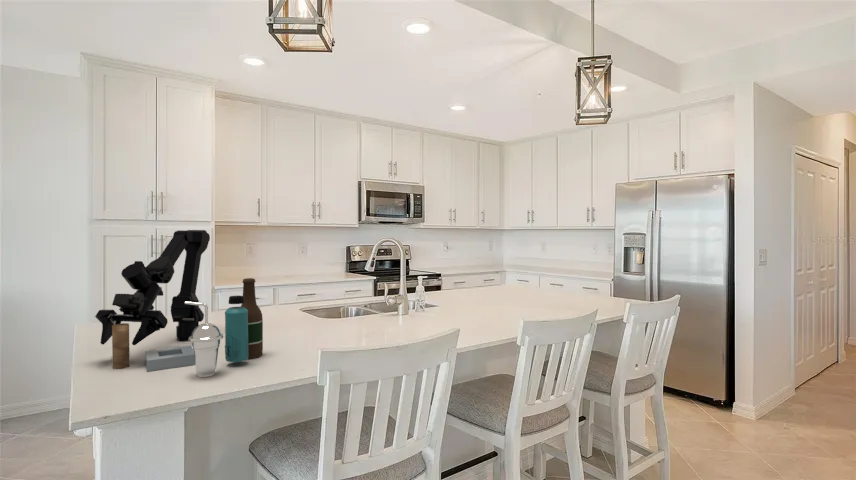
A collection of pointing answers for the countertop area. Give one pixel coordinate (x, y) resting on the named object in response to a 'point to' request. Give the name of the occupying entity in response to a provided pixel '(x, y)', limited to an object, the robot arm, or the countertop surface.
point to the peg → (120, 346)
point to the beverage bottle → (236, 331)
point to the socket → (169, 358)
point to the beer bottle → (253, 319)
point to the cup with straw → (205, 345)
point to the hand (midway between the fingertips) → (117, 344)
